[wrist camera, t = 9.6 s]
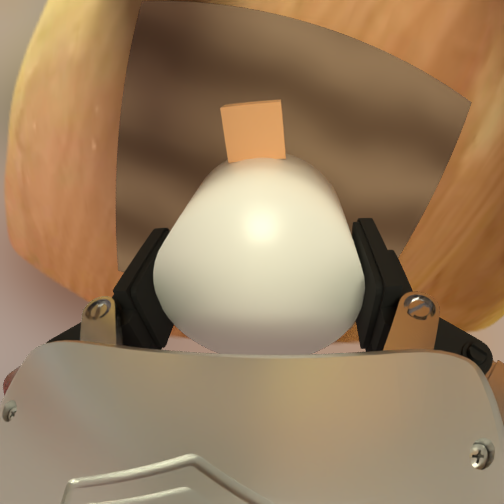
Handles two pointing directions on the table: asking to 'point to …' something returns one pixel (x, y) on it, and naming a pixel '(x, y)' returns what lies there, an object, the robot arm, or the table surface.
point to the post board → (293, 109)
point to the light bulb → (260, 249)
